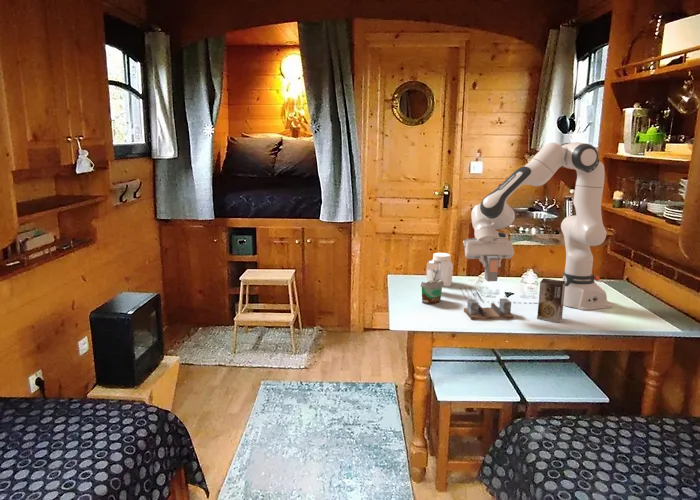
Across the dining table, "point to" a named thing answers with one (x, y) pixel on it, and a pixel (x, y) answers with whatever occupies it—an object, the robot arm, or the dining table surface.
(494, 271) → the grey orange block
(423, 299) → the food container
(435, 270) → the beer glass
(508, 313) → the rail board
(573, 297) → the robot arm
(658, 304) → the dining table surface
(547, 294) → the coffee box
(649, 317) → the dining table surface
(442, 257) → the jar
